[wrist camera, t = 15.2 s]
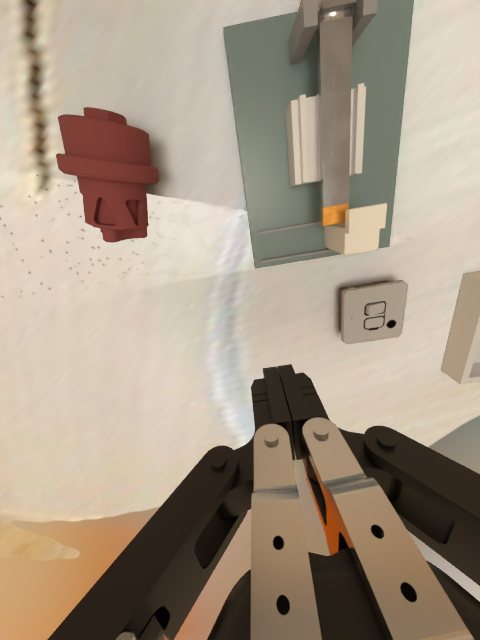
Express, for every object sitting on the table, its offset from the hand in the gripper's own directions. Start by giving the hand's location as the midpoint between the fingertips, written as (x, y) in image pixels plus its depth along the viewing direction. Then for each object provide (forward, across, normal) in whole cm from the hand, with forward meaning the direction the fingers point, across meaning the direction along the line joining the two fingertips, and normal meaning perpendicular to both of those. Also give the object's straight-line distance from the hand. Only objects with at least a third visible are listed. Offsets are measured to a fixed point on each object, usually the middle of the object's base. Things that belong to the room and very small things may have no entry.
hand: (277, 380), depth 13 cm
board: (+27, -11, -13) cm, 32 cm away
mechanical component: (+27, +14, -14) cm, 34 cm away
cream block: (+26, -13, -3) cm, 29 cm away
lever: (+21, -11, -23) cm, 33 cm away
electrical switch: (+27, -22, +9) cm, 36 cm away
